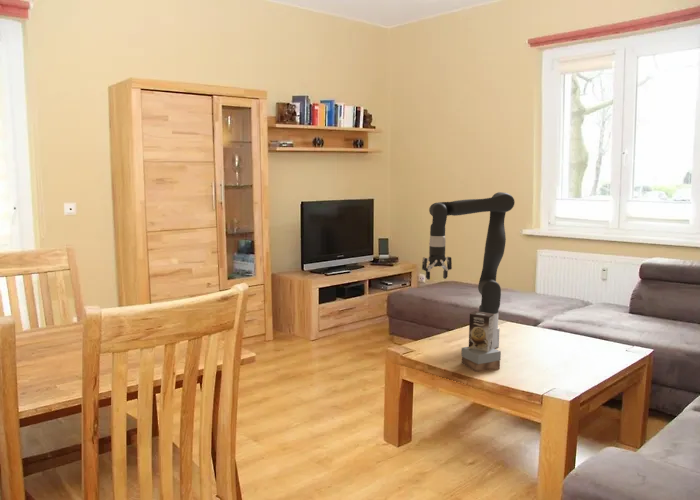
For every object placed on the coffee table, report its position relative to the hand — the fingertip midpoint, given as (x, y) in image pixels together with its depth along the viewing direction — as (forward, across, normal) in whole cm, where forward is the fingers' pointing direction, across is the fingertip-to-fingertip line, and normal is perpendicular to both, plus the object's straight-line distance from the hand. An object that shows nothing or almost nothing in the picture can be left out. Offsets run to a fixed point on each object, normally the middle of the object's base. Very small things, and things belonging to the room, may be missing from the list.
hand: (436, 278), depth 295 cm
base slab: (+35, +8, -30) cm, 47 cm away
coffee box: (+27, +8, -30) cm, 41 cm away
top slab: (+31, +8, -30) cm, 44 cm away
